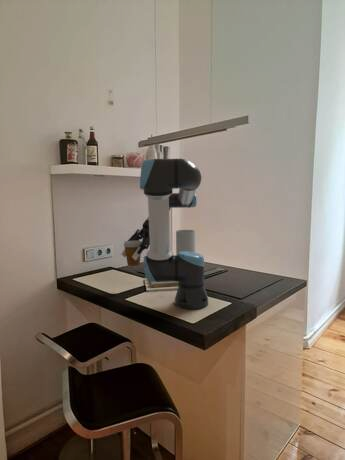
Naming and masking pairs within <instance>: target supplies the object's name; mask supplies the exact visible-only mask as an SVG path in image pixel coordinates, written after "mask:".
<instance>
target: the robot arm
mask: <svg viewBox="0 0 345 460" xmlns="http://www.w3.org/2000/svg"><path fill="white" fill-rule="evenodd" d="M201 182H202V174H201V171H200V169H199V168H198V167H197V165H196V164H194V163H193V162H191V161H190V160H188V159H184V158H149V159H144V160H143V161H142V163H141V169H140V176H139V189H140V190H142V191H143V194H144V196H146V198H147V209H148V210H147V211H148V213H147V214H148V216H147V218H146V219H145V220H144V222H143V223H142V228H141V229H139V228H137V229H136V231H135V232H134V233H133V234H132V235H131V236H130V238H128V240H127V241H131V240H138V241H141V245H140V247H138V249H137V250H136V252H135V253H134V255H133V256H132V258H133V259H134V260H137V258H138V257H139V255H140V254H141V255H142V253H143V251H145V250H148V249H149V250H148V251H147V252H146V255H145V256H144V257H143V270H144V275H145V278H146V279H147V280H148V281H149V282H177V281H178V290H176V292H175V293H176V294H175V297H174V305H175V306H176V307H178V308H180V309H185V310H199V309H203V308H205V307H208V305H209V297H208V294H207V291H206V288H205V258H204V256H203V255H202V254H201V253H197V252H195V253H194V252H187V251H183V252H178V255H175V254H174V252H173V250H172V249H171V248H170V242H171V241H170V211H171V209H175V208H176V209H178V208H187V209H188V208H189V209H190V208H195V207H196V206H197V194H196V191H197V189H198V188H199V187H200V185H201ZM174 189H175V190H176V189H178V192H174V193H173V190H174ZM121 256H122V257H123V258H126V252H125V248H124V249H123V251H122V252H121Z"/></svg>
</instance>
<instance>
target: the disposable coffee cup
mask: <svg viewBox="0 0 345 460" xmlns="http://www.w3.org/2000/svg"><path fill="white" fill-rule="evenodd" d="M123 242H124V243H123V247H124V249H125V252H126V257H125V258H126V263H127V266H129V267H130V266H131V267H137V266H139V265H141V255H142V253H141V254H140V255H139V257H138V258H137V260H134V259H133V258H132V256H133V255H134V253H135V252H136V250H137V249H138V247H140V245H141V243H142V240H139V241H138V240H131V241H128V240H126V241H123Z"/></svg>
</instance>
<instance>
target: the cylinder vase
mask: <svg viewBox="0 0 345 460" xmlns="http://www.w3.org/2000/svg"><path fill="white" fill-rule="evenodd" d="M175 251H176V252H175V254H176V255H178V252H183V251H187V252H194V253H196V230H192V229H179V230H176V231H175Z"/></svg>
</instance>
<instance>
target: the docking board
mask: <svg viewBox="0 0 345 460" xmlns="http://www.w3.org/2000/svg"><path fill="white" fill-rule="evenodd" d="M143 280H144V284H145V292H146V293H147V292H149V293H150V292H163V291H165V292H166V291H177V290H178V281H177V282H149V281H148V280H147V279H146V277H144V279H143Z"/></svg>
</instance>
